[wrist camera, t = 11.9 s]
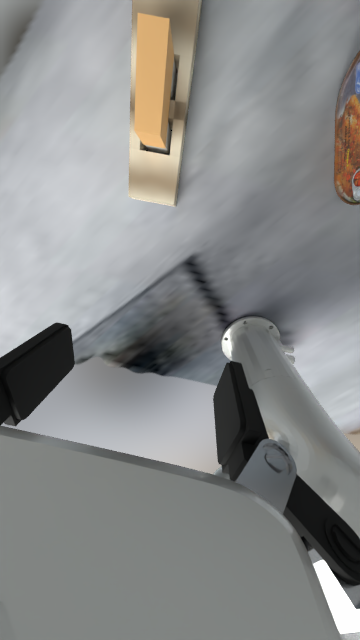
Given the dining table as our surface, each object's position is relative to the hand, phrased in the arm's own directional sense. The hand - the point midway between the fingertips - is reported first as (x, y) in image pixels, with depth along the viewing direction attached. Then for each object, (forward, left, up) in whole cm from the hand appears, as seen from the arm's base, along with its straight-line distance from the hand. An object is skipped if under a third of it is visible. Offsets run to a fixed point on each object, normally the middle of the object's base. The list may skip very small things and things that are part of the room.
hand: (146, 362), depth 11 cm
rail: (+6, -20, -27) cm, 34 cm away
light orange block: (+6, -20, -27) cm, 34 cm away
